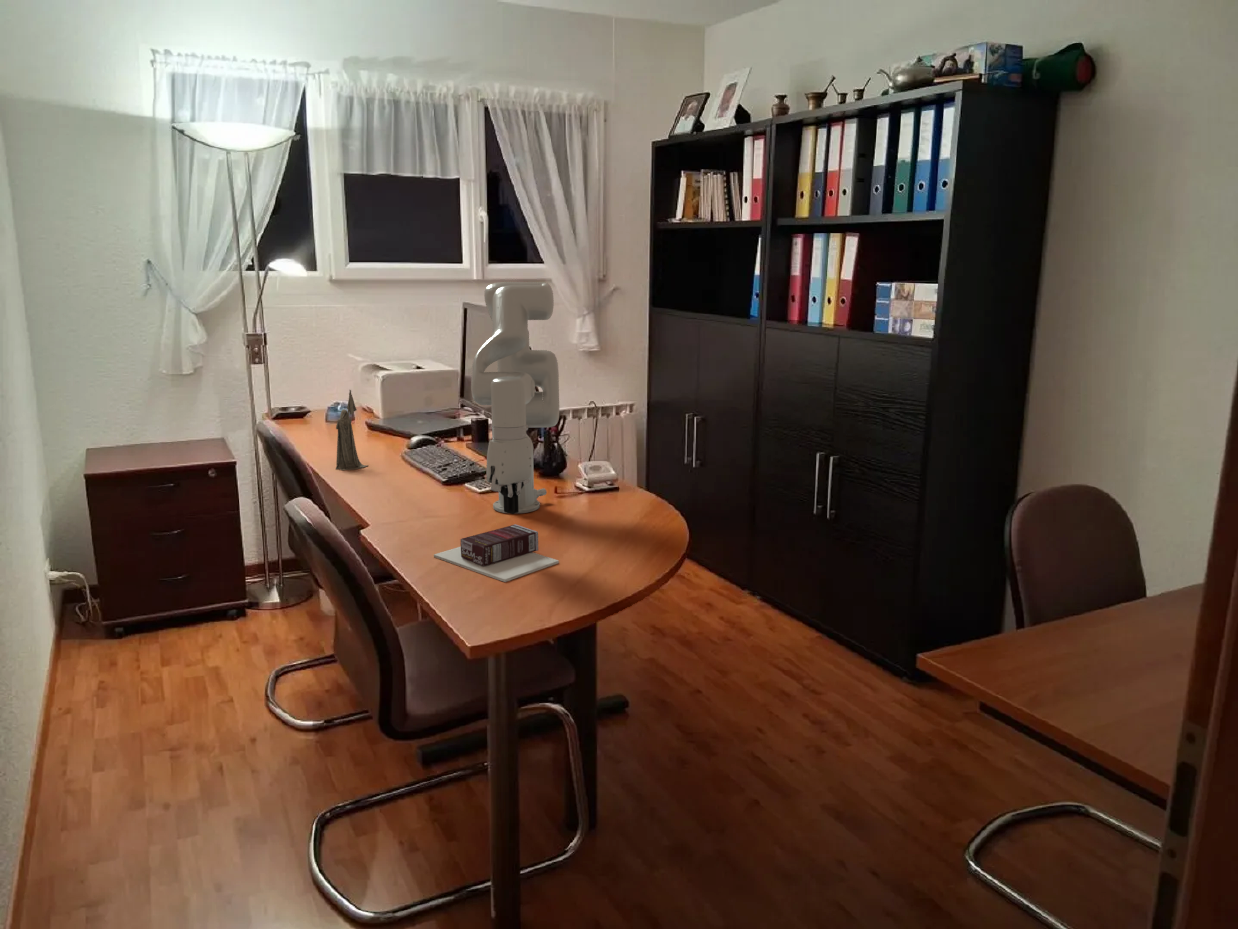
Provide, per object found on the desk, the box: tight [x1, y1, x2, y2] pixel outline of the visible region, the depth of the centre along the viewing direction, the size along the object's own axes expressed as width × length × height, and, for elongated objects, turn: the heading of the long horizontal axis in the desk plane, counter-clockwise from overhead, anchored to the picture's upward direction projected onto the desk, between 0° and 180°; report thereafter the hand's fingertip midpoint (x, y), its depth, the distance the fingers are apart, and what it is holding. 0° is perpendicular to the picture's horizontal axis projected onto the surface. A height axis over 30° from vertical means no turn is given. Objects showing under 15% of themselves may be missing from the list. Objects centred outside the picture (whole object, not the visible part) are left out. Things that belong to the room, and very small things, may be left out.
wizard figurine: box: [335, 389, 369, 471], centre depth 286 cm, size 10×8×25 cm
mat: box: [433, 545, 560, 583], centre depth 202 cm, size 16×24×1 cm, turn 49°
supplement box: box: [460, 524, 539, 566], centre depth 203 cm, size 9×5×16 cm
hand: (511, 512), depth 203 cm, fingers closed
